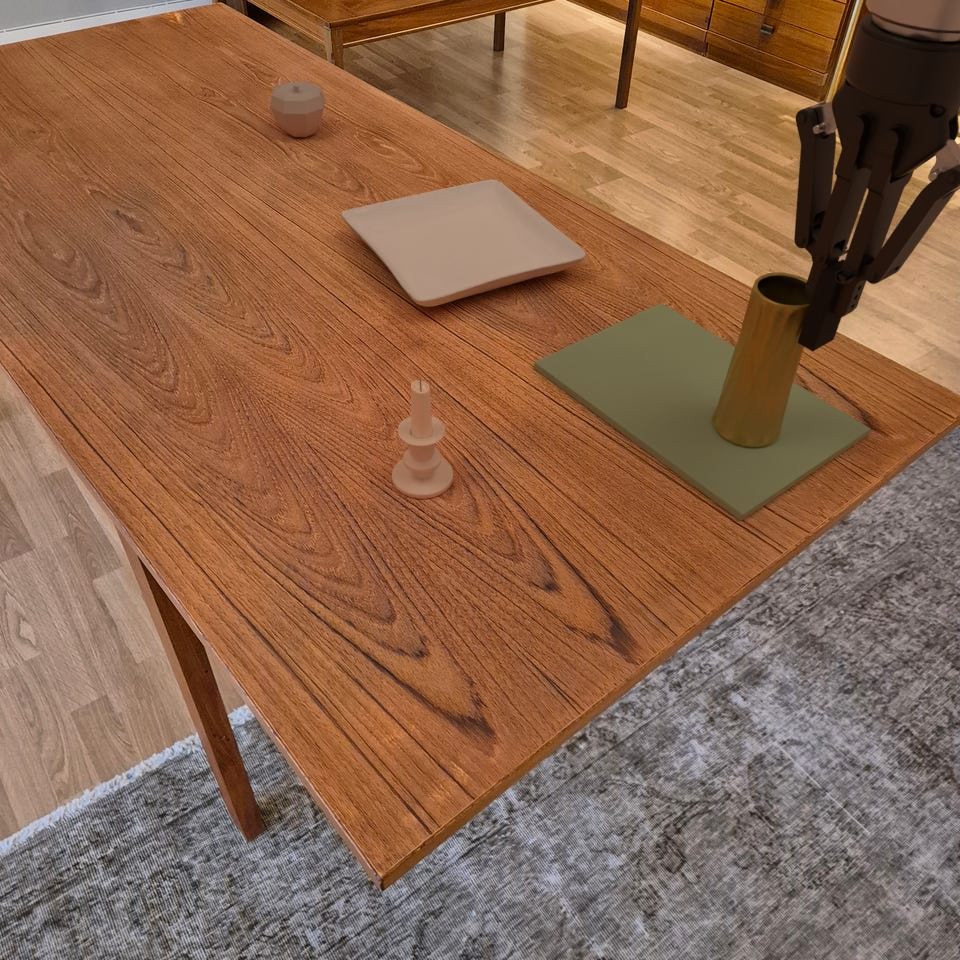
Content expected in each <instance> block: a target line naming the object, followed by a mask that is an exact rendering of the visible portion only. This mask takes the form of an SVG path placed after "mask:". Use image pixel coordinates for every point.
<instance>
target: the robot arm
mask: <svg viewBox="0 0 960 960" xmlns="http://www.w3.org/2000/svg"><path fill="white" fill-rule="evenodd" d="M865 6H866V8H867V9H868V11H869V13H868V14H866V15H865V16H864V17H862V18H861V19H860V20H859V22H858V25H857V28H856V32H855V35H854V39H853V42H852V46H851V48H850V52H849V55H848V59H847V62H846V65H845V69H844V76H845V79H844V81H843V83H842V84H841V86H839V88H838V89H837V90H836V92H835V93H834V95H833V97H832V100H830V101H828V102H826V101H821V102H817V103H816V104H813V105H810V106H808V107H804V108H802V109H800V110H798V111H797V113H795V124H796V129H797V133H798V138H799V142H800V153H799V167H798V168H799V169H798V182H797V193H796V194H797V196H796V209H795V210H796V211H795V223H794V238H793V241H794V244H795V246H796V247H797V248H799V249H804V250H806V252H808V253H809V254H810V256H811V261H812V264H811V267H810V271H809V274H808V277H807V283H806V286H805V289H804V298H805V299H807V300H809V301H810V305H809V309H808V312H807V315H806V318H805V321H804V324H803V327H802V330H801V333H800V336H799V339H798V342H797V343H799V344H800V345H802V346H804V348H806V349H807V350H809V351H811V352H815V351H817V350H818V349H820V348H822V347H824V346H825V345H827V344H829V343H830V342H833V341H834V340H835V338H836V334H837V331H838V328H839V326H840V323H841V320H842V318H844V317H846V316H847V315H850V314H851V313H853V312H854V311H855V310H856V309H857V308H858V305H859V302H860V300H861V297H862V294H863V291H864V289H865V286H866V283H867V282H868V283H869V284H871V285H877V284H878V283H880V282H882V281H884V280H886V279H888V278H890V277H891V276H893V275H895V274H897V273H898V272H899V271H900V270H901V268H902V267H903V266H904V264H905V263H906V262H907V260H908V259H909V257H910V256H911V255H912V253H913V252H914V250H915V249H916V247H917V246H918V245H919V243H920V242H921V240H922V239H923V238H924V236H925V235H926V234H927V232H928V231H929V230H930V228H931V227H932V225H934V223H935V221H936V220H937V218H938V217H939V216H940V214H941V213H942V212H943V210H944V209H945V207H946V206H947V205H948V203H949V202H950V201H951V199H952V198H953V196H954V195H955V193H956V192H958V191H959V190H960V146H959V144H958V143H957V142H956V139H957V138H958V136H959V132H960V125H959V113H960V0H865ZM836 130H837V132H836ZM837 134H838V138H839V143H840V146H841V150H840V153H839V157H838V160H837V164H836V167H835V160H836V148H837ZM934 157H935V163H934V165H933V166H932V167H931V169H930V171H929V174H928V180H929V181H930V182H929V183H928V184H927V185H925V187H923V189H921V190H920V192H919V193H918V195H916V197H915V199H914V200H913V201H912V203H911V204H910V206H909V208H908V209H907V210H906V212H905V214H904V215H903V216H902V218H901V219H900V221H899V222H898V224H897V225H896V227H895V228H894V229H893V231H892V233H891V234H890V235H889V237H888V238H887V234H888V232H889V230H890V227H891V224H892V222H893V219H894V216H895V214H896V211H897V208H898V205H899V203H900V200H901V198H902V195H903V192H904V191H905V187H906V186H907V185H908V184H909V183H910V181H911V179H912V177H913V174H914V172H915V170H917V169H919V168H920V167H921V166H922V165H924V164H926V163H927V162H928V161H930V160H931V159H932V158H934ZM834 169H835V170H834ZM834 175H835V177H836V179H835V182H834V184H833V179H834ZM866 193H867V194H866ZM865 196H866V197H865ZM864 198H865V200H864ZM863 200H864V201H863ZM863 202H864V203H863ZM862 204H863V206H862ZM861 206H862V209H861ZM860 210H861V211H860ZM859 212H860V213H859ZM859 214H860V215H859ZM858 215H859V217H858ZM857 218H858V219H857ZM857 220H858V221H857ZM856 222H857V223H856ZM855 224H856V226H855ZM854 227H855V229H854ZM853 230H854V231H853ZM852 233H853V234H852ZM851 236H852V238H851ZM886 238H887V239H886ZM850 239H851V241H850ZM849 241H850V244H849ZM848 245H849V246H848ZM844 255H845V258H843V259H840V257H842V256H844Z"/></svg>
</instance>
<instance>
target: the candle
mask: <svg viewBox="0 0 960 960" xmlns="http://www.w3.org/2000/svg"><path fill="white" fill-rule="evenodd" d="M431 399H432V398H431V388H430V385H429V383H427V382H426V381H424V380H421V379H420V380H419V379H418V380H417V379H416V380H414V381H412V382H411V384H410V416H408V417H406V418H404V419H403V420H401V422H400V423H399V424H398V426H397V429H396V430H397V431H396V432H397V435H398V437H399V439H400V440H401V441H402V442H404V443H405V444H407V447H408V448H407V449H406V450H405V451H404V453H403V455H402V458H401V459H400V460H398V462H397V463H395V464H394V466H393V469H392V471H391V481H392V485H393V486H394V487H395V489H396V490H397V491H398V492H399V493H401V494H402V495H405V496H407V497H408V498H412V499H418V500H419V499H424V500H426V499H430V498H435V497H438V496H440V495H442V494H443V493H445V492H447V491H448V490H449V488H451V486H452V483H453V482H454V470H453V467H452V465H451V464H450V462H448V461H447V460H446V459H445V458H443V457H442V453H441V452H440V450H439V449H438V448H436V444H437V443H438V442H440V441H441V440H442V439H443V438H444V437H445V434H446V427H445V424H444V422H443V421H442V420H440V419H439V418H438V417H435V416H432V400H431Z"/></svg>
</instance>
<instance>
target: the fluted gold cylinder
mask: <svg viewBox="0 0 960 960" xmlns="http://www.w3.org/2000/svg"><path fill="white" fill-rule="evenodd" d="M807 280H808V278H807V279H806V278H805V277H803V276H800V275H797V274H794V273H788V272H784V271H783V272H782V271H780V272H779V271H778V272H777V271H775V272H768V273H765V274H763V275H760V276H758V277H757V278H756V279H755V280H754V283H753V285H752V287H751V290H750V294H749V300H748V304H747V306H746V309H745V314H744V317H743V320H742V325H741V329H740V332H739V335H738V337H737V338H738V339H737V341H736V344H735V346H734V347H735V350H734V353H733V356H732V359H731V362H730V365H729V369H728V372H727V375H726V378H725V381H724V384H723V388H722V392H721V395H720V398H719V402H718V405H717V408H716V410H715V412H714V414H713V416H712V423H713V426H714V428H715V429H716V431H717V432H718V433H719V435H721V436H722V437H723V438H724V439H726V440H728V441H729V442H732V443H734V444H736V445H740V446H745V447H763V446H766V445H769V444H771V443H773V442H774V441H776V440H777V439H778V437H779V436H780V433H781V426H782V421H783V418H784V415H785V411H786V407H787V403H788V399H789V395H790V391H791V388H792V384H793V382H794V381H795V378H796V375H797V372H798V369H799V365H800V362H801V358H802V356H803V352H804V350H805V347H804V346H802V345H800V344H799V343H797V342H798V339H799V336H800V333H801V330H802V327H803V324H804V321H805V318H806V315H807V312H808V309H809V305H810V301H809V300H807V299H805V298H804V289H805V286H806V283H807Z"/></svg>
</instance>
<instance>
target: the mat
mask: <svg viewBox="0 0 960 960" xmlns="http://www.w3.org/2000/svg"><path fill="white" fill-rule="evenodd" d="M735 347H736V346H734V345H733V344H731V343H730V342H728V341H726V340H724V339H722V338H721V337H719V336H718V335H716V334H714V333H713V332H711V331H710V330H708V329H706V328H705V327H703V326H701V325H699V324H698V323H696V322H694V321H693V320H691V319H689V318H687V317H686V316H684V315H683V314H681V313H680V312H678V311H676V310H675V309H673V308H671V307H669V306H668V305H667V304H665V303H663V302H659V303H657V304H654V305H653V306H651V307H648V308H646V309H644V310H642V311H639V312H638V313H635V314H634V315H633V314H632V315H631V316H629V317H627V318H625V319H624V320H621V321H618V322H616V323H614V324H612V325H610V326H607V327H605V328H603V329H602V330H600V331H597V332H595V333H593V334H591V335H589V336H586V337H585V338H582V339H579V340H578V341H576V342H574V343H572V344H569V345H567V346H566V347H562V348H561V349H559V350H557V351H554V352H552V353H549V354H548V355H546V356H544V357H542V358H540V359H538V360H535V361H534V362H533V369H534V370H535V371H536V372H538V373H540V375H542V376H543V377H545V379H547V380H549V381H550V382H551V383H553V385H556V386H557V387H558V388H559V389H561V390H562V391H564V392H565V393H566V394H567V395H569V396H570V397H572V398H573V399H574V400H575V401H577V402H579V404H581V405H583V407H585V408H586V409H588V410H589V411H591V412H592V413H593V414H594V415H596V416H598V418H600V419H601V420H603V421H604V422H605V423H607V424H608V425H610V426H611V427H612V428H614V429H615V430H617V431H618V432H619V433H621V434H622V435H623V436H624V437H626V438H627V439H629V440H630V441H632V442H633V443H634V444H636V445H637V447H640V448H641V449H642V450H644V451H645V452H646V453H648V454H649V455H650V456H651V457H653V458H655V459H656V460H657V461H658V462H660V463H661V464H662V465H664V466H665V467H666V468H667V469H670V471H672V472H673V473H675V474H676V475H678V476H679V477H680V478H682V479H683V480H684V481H685V482H687V483H688V484H690V485H691V486H692V487H693V488H695V489H696V490H698V491H699V492H701V493H702V494H703V495H705V496H706V497H707V498H709V499H710V500H711V501H712V502H714V503H715V504H717V505H718V506H720V507H721V509H723V510H725V511H726V512H728V513H729V514H730V515H732V516H733V517H734V518H736V520H738V521H740V522H742V521H744V520H745V519H746V518H747V517H749V516H751V515H752V514H754V513H755V512H757V511H758V510H760V509H761V508H763V507H764V506H765V505H767V504H769V503H770V502H771V501H773V500H774V499H776V498H777V497H779V496H780V495H782V494H783V493H785V492H786V491H788V490H789V489H791V488H792V487H794V486H795V485H797V484H798V483H800V482H801V481H803V480H804V479H805V478H807V477H809V476H810V475H812V474H813V473H815V472H816V471H817V470H819V469H820V468H822V467H824V466H825V465H826V464H828V463H830V462H831V461H832V460H834V459H836V457H838V456H840V455H841V454H843V453H845V451H847V450H848V449H850V448H851V447H853V446H855V445H856V444H857V443H859V442H860V441H862V440H863V439H865V438H866V437H868V436H869V434H870V432H871V430H872V428H870V427H869V426H868V425H865V424H864V423H862V422H860V421H859V420H857V419H855V418H854V417H852V416H850V415H849V414H848V413H846V412H844V411H842V410H841V409H839V408H837V407H835V406H834V405H833V404H831V403H829V402H827V401H825V400H824V399H822V398H821V397H819V396H817V395H816V394H814V393H812V392H811V391H809V390H807V389H806V388H804V387H802V386H801V385H799V384H798V383H796V382H794V381H793V384H792V388H791V391H790V395H789V399H788V403H787V407H786V411H785V415H784V418H783V421H782V426H781V433H780V436H779V437H778V439H777V440H776V441H774V442H773V443H771V444H769V445H766V446H763V447H745V446H740V445H736V444H734V443H732V442H729V441H728V440H726V439H724V438H723V437H722V436H721V435H719V433H718V432H717V431H716V429H715V428H714V426H713V423H712V416H713V414H714V412H715V410H716V408H717V405H718V402H719V398H720V395H721V392H722V388H723V384H724V381H725V378H726V375H727V372H728V369H729V365H730V362H731V359H732V356H733V353H734V350H735Z"/></svg>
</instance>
